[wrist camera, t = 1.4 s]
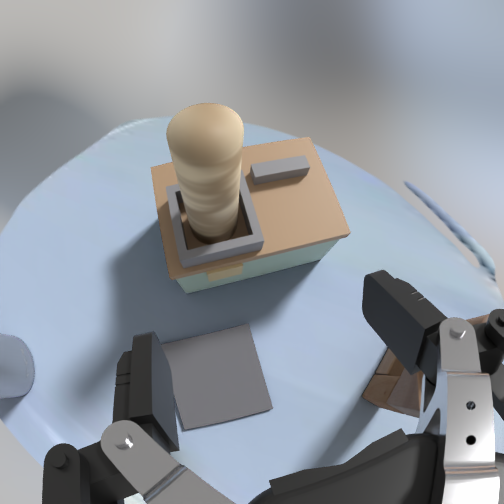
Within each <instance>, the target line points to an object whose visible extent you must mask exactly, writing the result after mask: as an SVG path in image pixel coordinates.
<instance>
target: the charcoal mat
mask: <svg viewBox="0 0 504 504" xmlns="http://www.w3.org/2000/svg"><path fill="white" fill-rule="evenodd" d="M161 347H162V349H163V351H164V353H165V355H166V358H167V360H168V362H169V365H170V369H171V373H172V382H173V393H174V396H175V400H176V403H177V407H178V410H179V413H180V416H181V420H182V423H183V426H184V429H191V428H196V427H201V426H206V425H210V424H215V423H219V422H224V421H228V420H232V419H236V418H240V417H244V416H248V415H252V414H255V413H259V412H263V411H266V410H270V409H273V407H272V403H271V400H270V397H269V393H268V390H267V386H266V383H265V379H264V376H263V373H262V369H261V366H260V362H259V359H258V355H257V352H256V348H255V345H254V341H253V338H252V334H251V331H250V327H249V323H248V324H244V325H240V326H236V327H232V328H228V329H224V330H220V331H216V332H212V333H208V334H204V335H200V336H196V337H191V338H187V339H183V340H178V341H174V342H169V343H165V344H161Z"/></svg>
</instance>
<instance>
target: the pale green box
mask: <svg viewBox="0 0 504 504" xmlns="http://www.w3.org/2000/svg"><path fill="white" fill-rule="evenodd" d="M151 173H152V180H153V187H154V194H155V200H156V207H157V213H158V219H159V225H160V231H161V236H162V242H163V247H164V252H165V258H166V263H167V268H168V273H169V277H170V279H171V280H175V279H176V280H177V282H178V283H179V284H180V286H181V287H182V289H183V290H184V291H185V293H186V294H188V293H192V292H196V291H200V290H204V289H208V288H212V287H216V286H220V285H224V284H229V283H233V282H237V281H240V280H244V279H248V278H252V277H256V276H260V275H264V274H268V273H272V272H276V271H280V270H283V269H287V268H291V267H295V266H299V265H302V264H306V263H310V262H314V261H317V260H321V259H322V258H323V257H324V256H325V255H326V254H327V252H328V251H329V250H330V249H331V248H332V247H333V246H334V245H335V244H336V243H337V242H338V240H339V239H341V238H345V237H347V236H348V235H349V234H350V233H351V232H350V230H349V227H348V224H347V222H346V219H345V217H344V214H343V212H342V209H341V207H340V204H339V202H338V200H337V197H336V195H335V192H334V190H333V188H332V185H331V183H330V181H329V178H328V176H327V174H326V171H325V169H324V167H323V165H322V162H321V160H320V158H319V156H318V154H317V151H316V149H315V147H314V145H313V143H312V141H311V139H310V137H306V138H298V139H291V140H284V141H277V142H271V143H265V144H259V145H253V146H247V147H242V161H241V175H240V189H239V203H238V218H237V228H236V231H235V233H234V235H233V236H232V237H231V238H230V239H229V240H227V241H223V242H219V243H215V244H211V245H207V244H204V243H202V242H200V241H199V240H198V239H196V237H195V236H194V235H193V233H192V231H191V227H190V224H189V220H188V217H187V213H186V210H185V206H184V202H183V199H182V195H181V191H180V188H179V184H178V180H177V176H176V173H175V169H174V165H173V162H171V163H166V164H162V165H158V166H154V167H151Z"/></svg>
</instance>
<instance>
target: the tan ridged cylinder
mask: <svg viewBox="0 0 504 504" xmlns="http://www.w3.org/2000/svg"><path fill="white" fill-rule="evenodd" d="M243 134H244V126H243V122H242V120H241V118H240V117H239V115H238V114H237V113H236V112H234V111H233V110H232V109H230V108H228V107H226V106H223V105H220V104H214V103H201V104H196V105H192V106H189V107H187V108H185V109H184V110H182V111H180V112H179V113H177V114H176V115H175V116H174V117H173V118H172V120H171V121H170V123H169V125H168V128H167V133H166V135H167V141H168V145H169V149H170V153H171V157H172V161H173V165H174V169H175V173H176V176H177V180H178V184H179V188H180V191H181V195H182V199H183V202H184V206H185V210H186V213H187V217H188V220H189V224H190V227H191V231H192V233H193V235H194V236H195V237H196V239H198V240H199V241H200V242H202V243H204V244H207V245H211V244H215V243H219V242H223V241H227V240H229V239H230V238H231V237H232V236H233V235H234V233H235V231H236V228H237V218H238V203H239V189H240V175H241V161H242V147H243Z"/></svg>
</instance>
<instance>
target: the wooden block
mask: <svg viewBox="0 0 504 504" xmlns="http://www.w3.org/2000/svg"><path fill="white" fill-rule="evenodd" d="M488 317H489V314H488V315H484V316H480V317H476V318H472V319H468V320H466V321H468V322H469V323H470V324H471V325H475V324H480V323H485V322H487V320H488ZM376 374H377V375H376ZM376 374H375V375H374V376H373V377H372V379H371V381H370V383H369V384H368V386H367V388H366V390H365V391H364V393H363V395H362V397H363V398H364V399H366V400H367V401H369V402H371V403H373V404H374V405H376V406H378V407H381V408H384V409H387V410H391V411H394V412H398V413H402V414H406V415H409V416H413V417H417V418H419V417H420V407H421V393H422V378H423V375H424V373H423V372H422V371H419V372H417V373H415V374H413V375H410V374H409V372H408V371H407V370H406V369H405V367H404V366H403V365H402V364H401V362H400V361H399V360H398V359H397V357H396V356H395V355H394V354H393V352H392V351H391V350H390V349H389V348H388V350H387V352H386V354H385V356H384V357H383V359H382V361H381V363H380V365H379V367H378V369H377V370H376Z"/></svg>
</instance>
